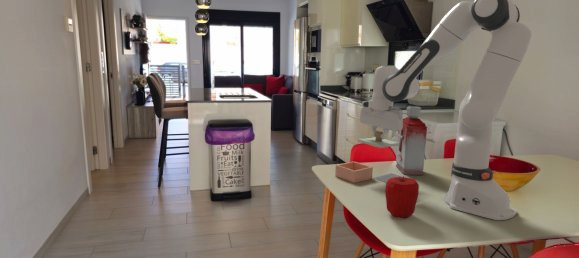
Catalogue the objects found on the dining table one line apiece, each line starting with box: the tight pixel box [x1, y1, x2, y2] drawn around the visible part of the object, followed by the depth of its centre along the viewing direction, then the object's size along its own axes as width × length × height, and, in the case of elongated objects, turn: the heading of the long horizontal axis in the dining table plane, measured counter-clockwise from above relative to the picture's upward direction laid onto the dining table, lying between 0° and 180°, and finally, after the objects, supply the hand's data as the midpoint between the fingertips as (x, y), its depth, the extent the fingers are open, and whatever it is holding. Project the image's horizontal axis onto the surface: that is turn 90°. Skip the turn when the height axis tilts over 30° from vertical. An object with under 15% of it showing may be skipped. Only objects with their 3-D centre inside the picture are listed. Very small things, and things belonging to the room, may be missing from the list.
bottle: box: [395, 105, 428, 176], centre depth 170 cm, size 14×10×30 cm
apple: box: [384, 175, 420, 219], centre depth 122 cm, size 11×10×14 cm
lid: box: [357, 130, 399, 149], centre depth 157 cm, size 12×12×5 cm
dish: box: [334, 161, 374, 184], centre depth 161 cm, size 11×11×6 cm
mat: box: [372, 172, 403, 184], centre depth 159 cm, size 13×13×1 cm
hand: (379, 137), depth 157 cm, fingers closed on lid, 3 cm apart
